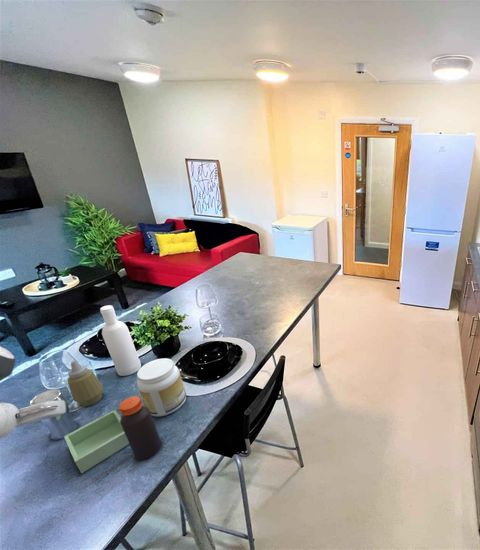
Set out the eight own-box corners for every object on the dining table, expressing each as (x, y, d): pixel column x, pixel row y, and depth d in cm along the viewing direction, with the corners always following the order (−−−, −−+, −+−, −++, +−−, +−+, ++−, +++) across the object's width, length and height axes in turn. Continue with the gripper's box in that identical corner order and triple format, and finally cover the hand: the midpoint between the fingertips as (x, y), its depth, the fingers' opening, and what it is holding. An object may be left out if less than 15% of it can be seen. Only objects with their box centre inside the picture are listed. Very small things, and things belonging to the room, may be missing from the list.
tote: (81, 473, 83) (74, 462, 81) (70, 447, 89) (63, 436, 87) (133, 441, 92) (129, 430, 90) (120, 420, 99) (115, 409, 97)
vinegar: (138, 443, 91) (118, 397, 83) (163, 436, 94) (146, 390, 86) (132, 463, 86) (110, 416, 77) (159, 455, 88) (141, 408, 80)
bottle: (144, 368, 121) (122, 307, 108) (120, 379, 115) (95, 315, 103) (137, 360, 125) (116, 300, 113) (115, 369, 119) (89, 307, 107)
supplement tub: (190, 388, 112) (180, 353, 105) (182, 413, 102) (171, 376, 95) (153, 395, 109) (140, 359, 102) (141, 422, 98) (127, 384, 91)
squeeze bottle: (102, 388, 111) (85, 350, 103) (109, 398, 106) (92, 360, 99) (73, 401, 105) (53, 362, 97) (80, 413, 100) (59, 373, 93)
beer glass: (78, 418, 98) (61, 385, 92) (79, 432, 94) (61, 398, 88) (49, 430, 94) (29, 397, 88) (49, 445, 90) (27, 411, 83)
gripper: (50, 393, 72) (76, 394, 84) (-80, 427, 63) (-30, 423, 74) (50, 419, 70) (77, 417, 82) (-83, 458, 61) (-31, 449, 73)
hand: (25, 420), depth 78 cm, fingers open, 8 cm apart
